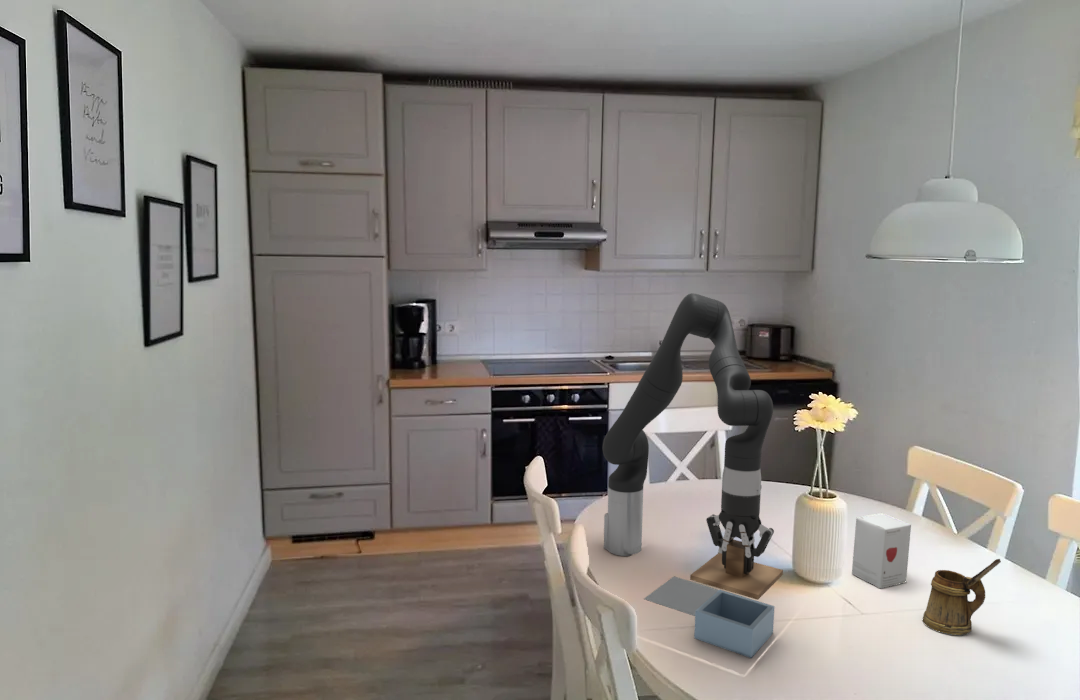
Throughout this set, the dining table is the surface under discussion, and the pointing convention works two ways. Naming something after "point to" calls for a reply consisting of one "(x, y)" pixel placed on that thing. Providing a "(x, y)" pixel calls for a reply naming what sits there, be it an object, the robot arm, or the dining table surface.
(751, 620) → the blue storage bin
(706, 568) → the walnut lid
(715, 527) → the robot arm
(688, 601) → the rubber mat
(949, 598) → the wooden mug
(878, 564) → the supplement box
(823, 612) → the dining table surface
